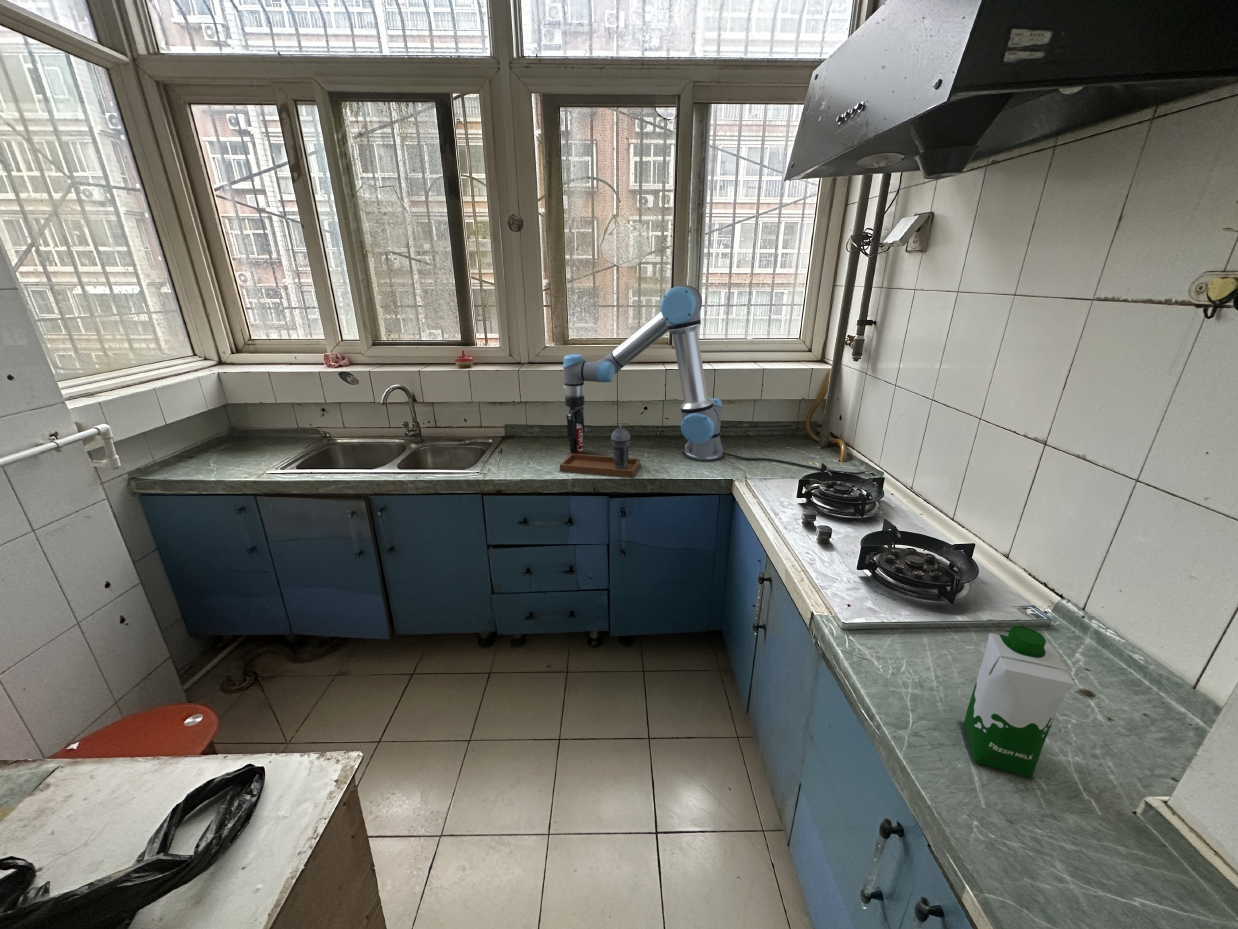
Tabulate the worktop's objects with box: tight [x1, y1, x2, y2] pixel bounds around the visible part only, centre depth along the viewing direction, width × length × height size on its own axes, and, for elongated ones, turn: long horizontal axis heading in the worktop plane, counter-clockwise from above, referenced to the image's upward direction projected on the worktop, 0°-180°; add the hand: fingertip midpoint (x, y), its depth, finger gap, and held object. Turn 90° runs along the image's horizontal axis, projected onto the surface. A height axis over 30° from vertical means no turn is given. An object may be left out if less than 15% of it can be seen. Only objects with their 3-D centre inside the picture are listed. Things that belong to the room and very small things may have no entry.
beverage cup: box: [610, 416, 631, 470], centre depth 181 cm, size 7×7×20 cm
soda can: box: [576, 424, 584, 454], centre depth 200 cm, size 5×5×12 cm
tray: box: [559, 452, 641, 478], centre depth 186 cm, size 28×13×3 cm, turn 75°
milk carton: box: [963, 625, 1075, 779], centre depth 72 cm, size 9×9×20 cm
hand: (577, 451), depth 202 cm, fingers open, 6 cm apart
